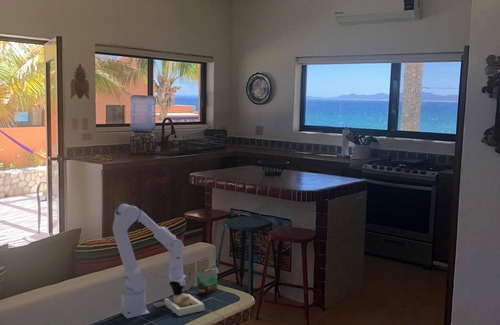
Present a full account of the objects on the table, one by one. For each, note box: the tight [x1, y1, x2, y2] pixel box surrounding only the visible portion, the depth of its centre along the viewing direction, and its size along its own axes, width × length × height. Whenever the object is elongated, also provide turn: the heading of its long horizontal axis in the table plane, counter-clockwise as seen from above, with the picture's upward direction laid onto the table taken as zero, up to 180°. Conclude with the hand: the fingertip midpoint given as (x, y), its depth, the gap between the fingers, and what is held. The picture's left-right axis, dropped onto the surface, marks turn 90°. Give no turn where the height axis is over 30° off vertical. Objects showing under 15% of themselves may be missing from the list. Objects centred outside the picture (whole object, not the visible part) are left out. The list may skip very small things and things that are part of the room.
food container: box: [195, 265, 219, 294], centre depth 239 cm, size 12×6×10 cm, turn 143°
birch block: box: [173, 292, 191, 308], centre depth 222 cm, size 5×5×4 cm
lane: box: [163, 293, 205, 317], centre depth 219 cm, size 11×16×2 cm, turn 28°
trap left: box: [151, 301, 167, 309], centre depth 224 cm, size 4×6×1 cm
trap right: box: [190, 294, 201, 300], centre depth 231 cm, size 4×6×1 cm
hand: (178, 298), depth 225 cm, fingers closed
